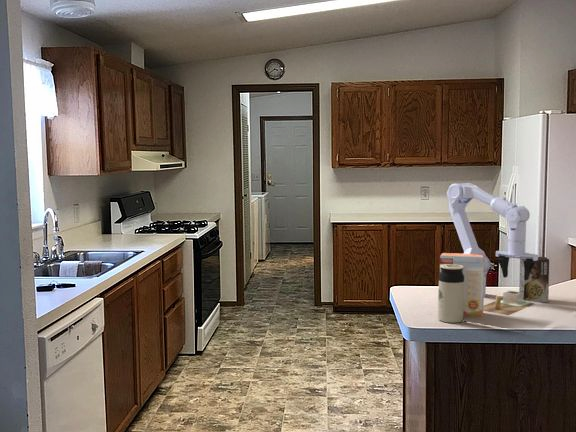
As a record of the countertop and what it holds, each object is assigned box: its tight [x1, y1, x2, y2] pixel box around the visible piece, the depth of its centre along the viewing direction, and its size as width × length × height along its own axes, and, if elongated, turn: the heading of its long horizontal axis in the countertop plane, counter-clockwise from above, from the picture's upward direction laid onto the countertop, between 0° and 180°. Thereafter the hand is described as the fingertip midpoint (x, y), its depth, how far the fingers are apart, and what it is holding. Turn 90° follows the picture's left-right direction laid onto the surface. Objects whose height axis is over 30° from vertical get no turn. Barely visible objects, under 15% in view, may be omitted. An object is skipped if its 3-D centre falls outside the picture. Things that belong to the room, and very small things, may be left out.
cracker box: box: [439, 252, 485, 318], centre depth 207 cm, size 14×6×21 cm, turn 69°
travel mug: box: [437, 264, 464, 324], centre depth 201 cm, size 8×8×18 cm
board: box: [483, 295, 535, 316], centre depth 217 cm, size 12×22×6 cm, turn 137°
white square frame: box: [502, 290, 524, 305], centre depth 221 cm, size 5×5×4 cm
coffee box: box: [518, 256, 550, 303], centre depth 229 cm, size 9×6×16 cm
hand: (515, 278), depth 220 cm, fingers open, 7 cm apart
